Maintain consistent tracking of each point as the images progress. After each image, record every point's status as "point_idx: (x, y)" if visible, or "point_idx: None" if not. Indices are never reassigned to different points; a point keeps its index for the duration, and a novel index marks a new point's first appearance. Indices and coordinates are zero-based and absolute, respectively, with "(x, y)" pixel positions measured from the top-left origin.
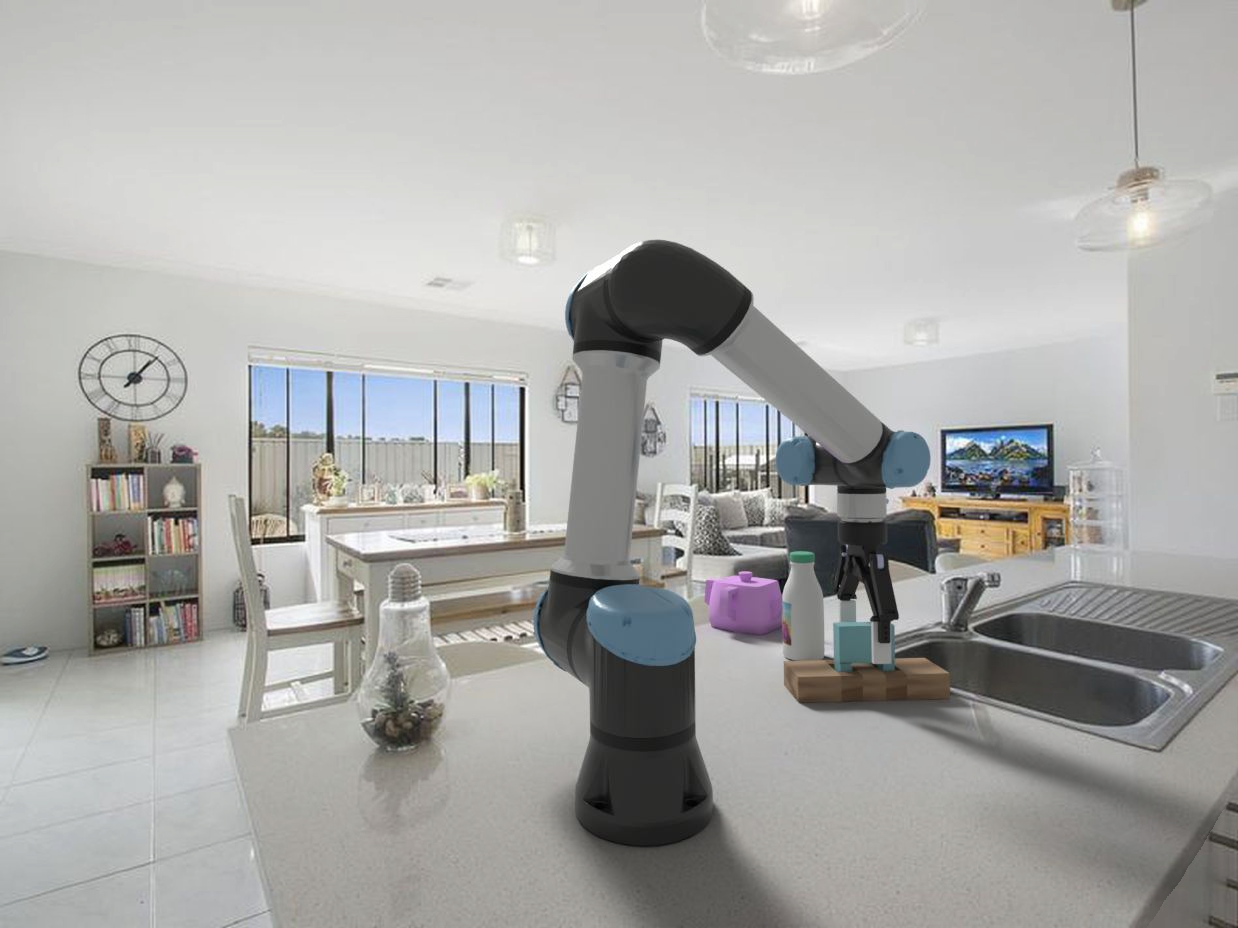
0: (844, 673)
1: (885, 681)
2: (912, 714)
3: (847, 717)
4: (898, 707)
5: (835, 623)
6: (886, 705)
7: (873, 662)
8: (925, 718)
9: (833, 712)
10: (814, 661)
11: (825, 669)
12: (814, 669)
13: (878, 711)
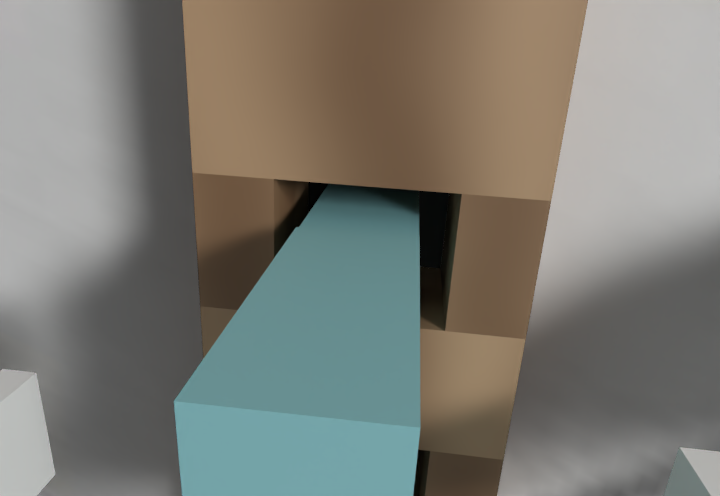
0: (241, 215)
1: None
2: (100, 366)
3: (46, 82)
4: (172, 354)
5: (357, 431)
6: (194, 321)
7: (3, 374)
8: (64, 388)
9: (103, 37)
10: (535, 114)
11: (332, 120)
12: (342, 33)
13: (125, 255)
